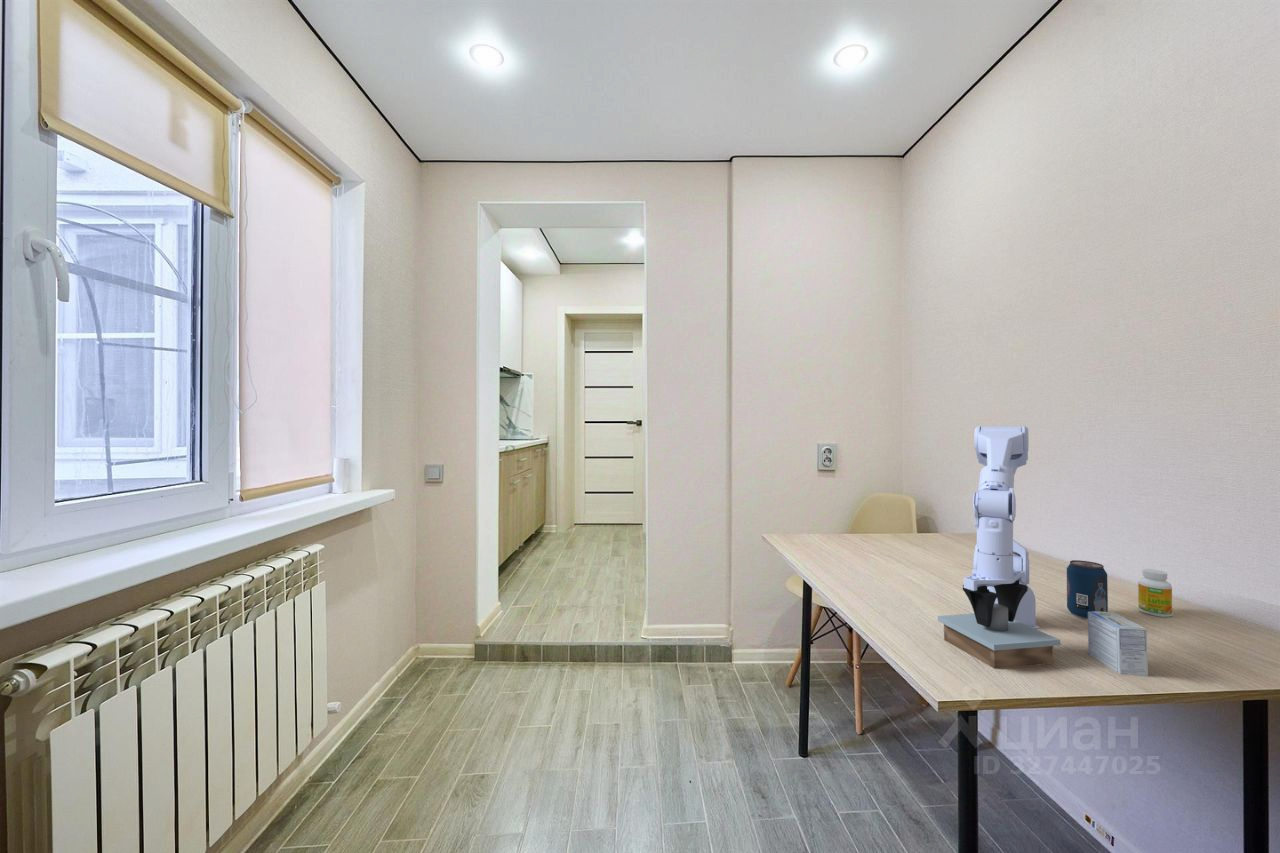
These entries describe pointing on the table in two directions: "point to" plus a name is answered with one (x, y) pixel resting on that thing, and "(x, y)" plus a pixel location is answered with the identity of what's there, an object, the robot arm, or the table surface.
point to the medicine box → (1118, 643)
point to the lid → (999, 631)
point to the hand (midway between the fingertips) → (995, 622)
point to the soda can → (1086, 588)
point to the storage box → (999, 652)
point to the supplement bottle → (1155, 593)
